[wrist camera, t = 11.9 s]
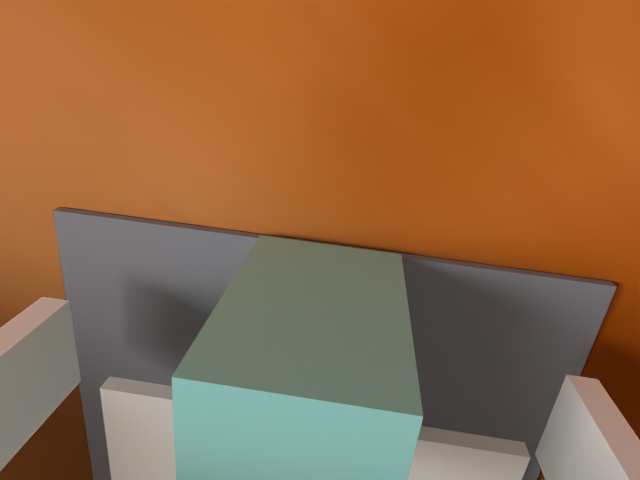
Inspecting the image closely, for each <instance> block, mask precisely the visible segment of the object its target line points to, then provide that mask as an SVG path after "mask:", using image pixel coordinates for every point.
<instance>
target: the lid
mask: <svg viewBox="0 0 640 480" xmlns="http://www.w3.org/2000/svg"><path fill="white" fill-rule="evenodd" d="M100 394H101V402H102V410H103V418H104V426H105V434H106V442H107V449H108V457H109V465H110V473H111V480H522V478H523V476H524V473H525V471H526V468H527V466H528V463H529V460H530V458H531V457H530V455H529V452H528V450H527V447H526V445H525V442H520V441H514V440H507V439H501V438H495V437H489V436H482V435H476V434H470V433H463V432H457V431H451V430H445V429H438V428H432V427H426V426H421V424H422V420H423V410H422V403H421V395H420V388H419V381H418V373H417V366H416V359H415V351H414V344H413V336H412V329H411V322H410V314H409V307H408V300H407V292H406V285H405V278H404V270H403V263H402V255H401V254H395V253H387V252H380V251H372V250H365V249H358V248H350V247H343V246H335V245H328V244H320V243H313V242H306V241H298V240H291V239H283V238H276V237H269V236H261V235H260V236H259V238H258V239H257V241H256V242H255V244H254V246H253V247H252V249H251V250H250V252H249V254H248V255H247V257H246V258H245V260H244V262H243V263H242V265H241V266H240V268H239V270H238V271H237V273H236V274H235V276H234V278H233V279H232V281H231V282H230V284H229V286H228V287H227V289H226V290H225V292H224V294H223V295H222V297H221V298H220V300H219V302H218V303H217V305H216V306H215V308H214V310H213V311H212V313H211V314H210V316H209V318H208V319H207V321H206V322H205V324H204V326H203V327H202V329H201V331H200V332H199V334H198V335H197V337H196V339H195V340H194V342H193V343H192V345H191V347H190V348H189V350H188V351H187V353H186V355H185V356H184V358H183V359H182V361H181V363H180V364H179V366H178V367H177V369H176V371H175V372H174V374H173V375H172V386H168V385H161V384H155V383H149V382H143V381H136V380H130V379H124V378H117V377H111V376H109V378H108V379H107V380H106V381H105V382H104V384H103V385H102V386H101V387H100Z"/></svg>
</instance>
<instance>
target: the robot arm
mask: <svg viewBox="0 0 640 480" xmlns="http://www.w3.org/2000/svg"><path fill="white" fill-rule="evenodd" d="M80 381H81V377H80V370H79V363H78V357H77V350H76V343H75V336H74V329H73V323H72V316H71V309H70V302H69V300H62V299H56V298H49V297H41V298H40V299H38V300H37V301H36V302H34V303H33V304H32V305H30V306H29V307H28V308H26V309H25V310H23V311H22V312H21V313H19V314H18V315H17V316H15V317H14V318H13V319H11V320H10V321H8V322H7V323H6V324H4V325H3V326H2V327H0V471H1V470H2V469H3V468H4V467H5V466H6V464H7V463H8V462H9V461H10V460H11V459H12V458H13V457H14V455H15V454H16V453H17V452H18V451H19V450H20V449H21V448H22V446H23V445H24V444H25V443H26V442H27V441H28V440H29V439H30V438H31V436H32V435H33V434H34V433H35V432H36V431H37V430H38V429H39V427H40V426H41V425H42V424H43V423H44V422H45V421H46V420H47V418H48V417H49V416H50V415H51V414H52V413H53V412H54V411H55V409H56V408H57V407H58V406H59V405H60V404H61V403H62V402H63V401H64V399H65V398H66V397H67V396H68V395H69V394H70V393H71V392H72V390H73V389H74V388H75V387H76V386H77V385H78V384H79V383H80ZM535 455H536V458H537V460H538V463H539V465H540V468H541V470H542V473H543V475H544V478H545V480H640V440H639V438H638V437H637V435H636V434H635V433H634V431H633V430H632V428H631V427H630V425H629V424H628V422H627V421H626V419H625V418H624V416H623V415H622V414H621V412H620V411H619V409H618V408H617V406H616V405H615V403H614V402H613V400H612V399H611V398H610V396H609V395H608V393H607V392H606V390H605V389H604V387H603V386H602V384H601V383H600V381H599V380H598V379H594V378H587V377H581V376H574V375H567V374H566V377H565V379H564V382H563V384H562V387H561V390H560V392H559V395H558V397H557V400H556V402H555V405H554V407H553V410H552V412H551V415H550V417H549V420H548V422H547V425H546V427H545V430H544V432H543V435H542V437H541V440H540V442H539V445H538V447H537V450H536V452H535Z"/></svg>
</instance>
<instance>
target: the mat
mask: <svg viewBox="0 0 640 480" xmlns="http://www.w3.org/2000/svg"><path fill="white" fill-rule="evenodd" d="M53 215H54V221H55V228H56V235H57V241H58V248H59V255H60V261H61V268H62V275H63V281H64V288H65V295H66V300H69V302H70V309H71V316H72V323H73V329H74V336H75V343H76V350H77V357H78V363H79V370H80V377H81V381H80V383H79V388H80V395H81V401H82V408H83V415H84V421H85V428H86V435H87V441H88V448H89V455H90V461H91V468H92V475H93V480H111V473H110V465H109V457H108V449H107V442H106V434H105V426H104V418H103V410H102V402H101V394H100V387H101V386H102V385H103V384H104V382H105V381H106V380H107V379H108V378H109V376H111V377H117V378H124V379H130V380H136V381H143V382H149V383H155V384H161V385H168V386H172V375H173V374H174V372H175V371H176V369H177V367H178V366H179V364H180V363H181V361H182V359H183V358H184V356H185V355H186V353H187V351H188V350H189V348H190V347H191V345H192V343H193V342H194V340H195V339H196V337H197V335H198V334H199V332H200V331H201V329H202V327H203V326H204V324H205V322H206V321H207V319H208V318H209V316H210V314H211V313H212V311H213V310H214V308H215V306H216V305H217V303H218V302H219V300H220V298H221V297H222V295H223V294H224V292H225V290H226V289H227V287H228V286H229V284H230V282H231V281H232V279H233V278H234V276H235V274H236V273H237V271H238V270H239V268H240V266H241V265H242V263H243V262H244V260H245V258H246V257H247V255H248V254H249V252H250V250H251V249H252V247H253V246H254V244H255V242H256V241H257V239H258V238H259V236H260V235H261V236H269V237H276V238H283V239H291V240H298V241H306V242H313V243H320V244H328V245H335V246H343V247H350V248H358V249H365V250H372V251H380V252H387V253H395V254H401V255H402V263H403V270H404V278H405V285H406V292H407V300H408V307H409V314H410V322H411V329H412V336H413V344H414V351H415V359H416V366H417V373H418V381H419V388H420V395H421V403H422V410H423V420H422V424H421V426H426V427H432V428H438V429H445V430H451V431H457V432H463V433H470V434H476V435H482V436H489V437H495V438H501V439H507V440H514V441H520V442H525V445H526V447H527V450H528V452H529V455H530V457H531V458H530V460H529V463H528V466H527V468H526V471H525V473H524V476H523V478H522V480H537V478H538V476H539V473H540V471H541V468H540V465H539V463H538V460H537V458H536V455H535V452H536V450H537V447H538V445H539V442H540V440H541V437H542V435H543V432H544V430H545V427H546V425H547V422H548V420H549V417H550V415H551V412H552V410H553V407H554V405H555V402H556V400H557V397H558V395H559V392H560V390H561V387H562V384H563V382H564V379H565V377H566V374H567V375H574V376H580V375H581V372H582V370H583V367H584V365H585V362H586V360H587V358H588V355H589V353H590V350H591V348H592V346H593V343H594V341H595V338H596V336H597V334H598V331H599V329H600V326H601V324H602V321H603V319H604V317H605V314H606V312H607V309H608V307H609V305H610V302H611V300H612V297H613V295H614V293H615V290H616V288H617V286H616V285H615V284H614V283H613V282H612V281H604V280H597V279H590V278H582V277H575V276H567V275H560V274H552V273H545V272H538V271H530V270H523V269H515V268H508V267H500V266H493V265H486V264H478V263H471V262H463V261H456V260H449V259H441V258H434V257H426V256H419V255H411V254H404V253H397V252H389V251H382V250H374V249H367V248H359V247H352V246H345V245H337V244H330V243H322V242H315V241H307V240H300V239H293V238H285V237H278V236H270V235H263V234H256V233H248V232H241V231H233V230H226V229H218V228H211V227H204V226H196V225H189V224H181V223H174V222H166V221H159V220H152V219H144V218H137V217H129V216H122V215H114V214H107V213H100V212H92V211H85V210H77V209H70V208H63V207H59V208H57V209H55V210H53Z"/></svg>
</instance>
